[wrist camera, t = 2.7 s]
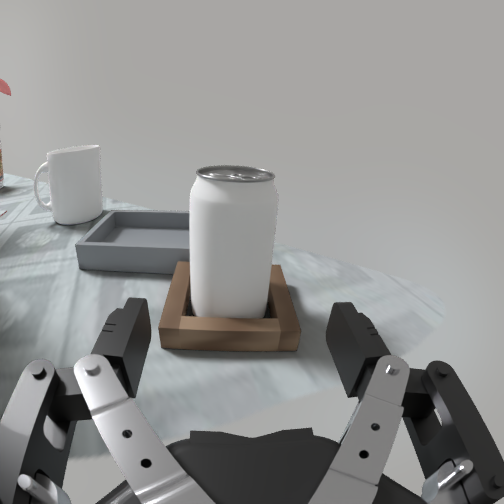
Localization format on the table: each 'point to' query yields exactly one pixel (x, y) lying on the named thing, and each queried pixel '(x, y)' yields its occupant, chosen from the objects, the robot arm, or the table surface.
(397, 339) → the table surface
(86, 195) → the mug
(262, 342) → the walnut collar
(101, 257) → the grey shallow rectangular tray
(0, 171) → the fruit juice
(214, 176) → the can
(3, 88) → the figurine
